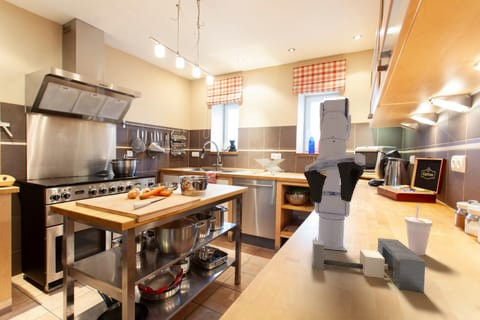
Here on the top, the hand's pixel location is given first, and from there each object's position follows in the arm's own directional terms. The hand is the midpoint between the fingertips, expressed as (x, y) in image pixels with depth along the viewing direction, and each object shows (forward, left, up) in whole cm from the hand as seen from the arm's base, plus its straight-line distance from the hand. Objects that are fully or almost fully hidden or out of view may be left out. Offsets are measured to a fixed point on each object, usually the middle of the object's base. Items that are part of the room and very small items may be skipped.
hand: (330, 201), depth 48 cm
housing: (-8, +17, -18) cm, 26 cm away
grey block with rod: (-8, +6, -18) cm, 20 cm away
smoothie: (-24, +29, -18) cm, 41 cm away
